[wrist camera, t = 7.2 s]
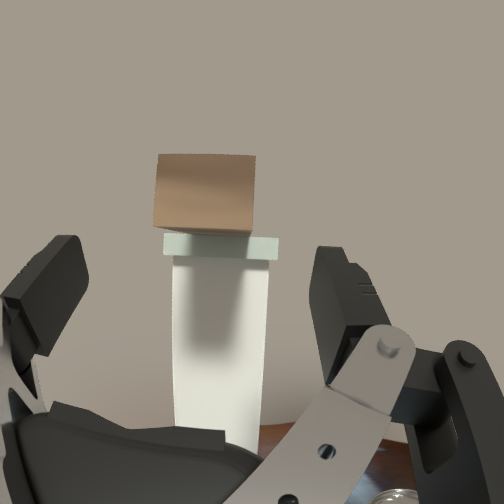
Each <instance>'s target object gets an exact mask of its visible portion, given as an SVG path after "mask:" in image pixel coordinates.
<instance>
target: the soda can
mask: <svg viewBox="0 0 504 504" xmlns="http://www.w3.org/2000/svg"><path fill="white" fill-rule="evenodd" d="M368 504H419V501H418V494H417V491H414V490H410V489H391V490H387V491H384V492H381V493H379V494H377V495H376V496H374V497H373V498H372V499H371V500H370V501H369V503H368Z"/></svg>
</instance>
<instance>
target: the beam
mask: <svg viewBox="0 0 504 504" xmlns="http://www.w3.org/2000/svg"><path fill="white" fill-rule="evenodd" d="M255 159H256V156H249V155H224V154H159V155H158V164H157V175H156V186H155V198H154V212H153V226H154V227H159V228H164V229H169V230H173V231H178V232H183V233H187V234H193V235H217V236H240V237H250V234H251V232H252V224H253V202H254V181H255Z"/></svg>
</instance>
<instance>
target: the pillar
mask: <svg viewBox="0 0 504 504" xmlns="http://www.w3.org/2000/svg"><path fill="white" fill-rule="evenodd" d="M163 254H164V255H173V282H172V357H173V389H174V410H175V426H182V427H191V428H202V429H214V430H225V436H226V442H228V443H231V444H235V445H237V446H240V447H242V448H245V449H247V450H249V451H251V452H253V453H255V454H257V451H258V437H259V423H260V409H261V395H262V379H263V363H264V347H265V346H264V345H265V330H266V312H267V293H268V273H269V260H278V238H261V237H260V238H259V237H240V236H217V235H193V234H167V233H165V234H164V252H163Z"/></svg>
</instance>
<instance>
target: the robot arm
mask: <svg viewBox="0 0 504 504" xmlns="http://www.w3.org/2000/svg"><path fill="white" fill-rule="evenodd" d="M88 283H89V275H88V270H87V267H86V263H85V259H84V254H83V250H82V246H81V242H80V239H79V238H78V236H76V235H57V236H56V237H54V239H53V240H52V241H51V242H50V243H49V244H48V245H47V246H46V247H45V248H44V249H43V250H42V251H40V252H39V253H37V254H36V255H34V257H33V258H32V259H31V260H30V261H29V262H28V263H27V266H24V268H23V269H22V270H21V271H20V273H18V274H17V276H16V277H15V278H14V279H13V280H12V281H11V283H10V284H9V285H8V286H7V287H6V289H5V290H4V291H3V292H2V294H1V295H0V504H344V503H345V502H346V500H347V499H348V497H349V496H350V494H351V493H352V491H353V489H354V488H355V486H356V485H357V483H358V481H359V480H360V478H361V476H362V475H363V473H364V471H365V470H366V468H367V466H368V464H369V463H370V461H371V459H372V457H373V455H374V453H375V452H376V450H377V448H378V446H379V444H380V442H381V440H382V438H383V436H384V434H385V432H386V430H387V428H388V426H389V424H390V422H396V423H403V424H404V426H405V431H406V435H407V440H408V445H409V450H410V455H411V460H412V465H413V471H414V476H415V482H416V488H417V494H418V501H419V504H504V397H503V395H502V392H501V390H500V387H499V385H498V383H497V381H496V379H495V377H494V374H493V372H492V370H491V368H490V366H489V364H488V362H487V360H486V358H485V356H484V354H483V353H482V352H481V351H480V350H479V349H478V348H477V347H476V346H474V345H473V344H471V343H469V342H466V341H462V340H457V341H452V342H450V343H449V344H448V345H447V346H446V348H445V349H444V351H443V353H438V352H432V351H428V350H423V349H418V348H415V344H414V342H413V340H412V339H411V338H410V336H409V335H408V334H406V333H405V332H404V331H403V330H401V329H399V328H396V327H394V326H392V325H391V323H390V321H389V318H388V316H387V314H386V312H385V309H384V307H383V305H382V303H381V301H380V299H379V297H378V295H377V292H376V290H375V288H374V286H372V282H371V280H370V278H369V275H368V273H367V272H366V271H365V270H364V269H363V268H361V267H360V266H359V265H358V264H357V263H349V262H348V259H347V257H346V255H345V253H344V250H343V249H342V247H330V246H319V247H318V248H317V251H316V256H315V261H314V266H313V272H312V277H311V283H310V289H309V303H310V309H311V314H312V319H313V324H314V329H315V333H316V339H317V344H318V349H319V354H320V360H321V365H322V371H323V376H324V382H325V386H324V387H323V388H322V390H321V391H320V392H319V393H318V395H317V396H316V397H315V399H314V400H313V401H312V403H311V404H310V405H309V407H308V408H307V409H306V411H305V412H304V413H303V414H302V416H301V417H300V418H299V419H298V421H297V422H296V423H295V424H294V426H293V427H292V428H291V429H290V431H289V432H288V433H287V434H286V435H285V437H284V438H283V439H282V440H281V441H280V443H279V444H278V445H277V446H276V447H275V448H274V450H273V451H272V452H271V453H270V454H269V455H268V457H267V458H266V459H265V460H264V459H263V458H261V457H260V456H258V455H257V454H255V453H253V452H251V451H249V450H247V449H245V448H242V447H240V446H237V445H235V444H231V443H228V442H226V436H225V430H214V429H202V428H191V427H182V426H172V427H161V428H148V429H126V428H124V427H121V426H119V425H117V424H115V423H113V422H111V421H109V420H107V419H105V418H103V417H101V416H99V415H97V414H95V413H93V412H91V411H89V410H86V409H82V408H78V407H74V406H70V405H67V404H63V403H60V402H56V401H54V402H53V404H52V406H51V409H50V412H47V410H46V408H45V405H44V401H43V397H42V393H41V388H40V384H39V380H38V375H37V369H36V365H35V362H34V361H33V359H32V358H33V356H34V354H39V355H42V356H46V357H48V356H49V354H50V352H51V350H52V349H53V347H54V345H55V343H56V341H57V339H58V338H59V336H60V334H61V332H62V330H63V329H64V327H65V325H66V323H67V322H68V320H69V318H70V316H71V315H72V313H73V311H74V310H75V308H76V306H77V305H78V303H79V301H80V300H81V298H82V296H83V295H84V293H85V292H86V290H87V287H88ZM451 417H452V418H451ZM452 420H453V421H452ZM453 424H454V425H453ZM454 427H455V428H454ZM455 430H456V431H455ZM456 433H457V435H456ZM457 437H458V438H457Z"/></svg>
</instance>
